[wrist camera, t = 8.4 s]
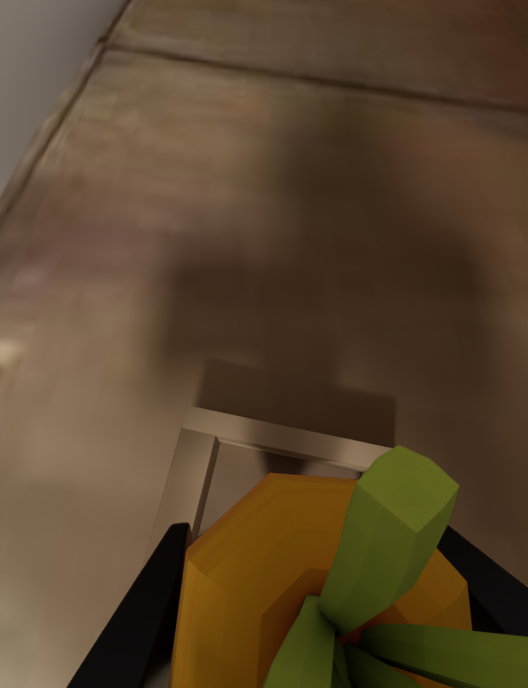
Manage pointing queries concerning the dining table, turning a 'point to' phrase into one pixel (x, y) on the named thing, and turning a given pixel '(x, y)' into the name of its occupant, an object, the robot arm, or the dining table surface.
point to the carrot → (336, 589)
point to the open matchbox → (214, 427)
